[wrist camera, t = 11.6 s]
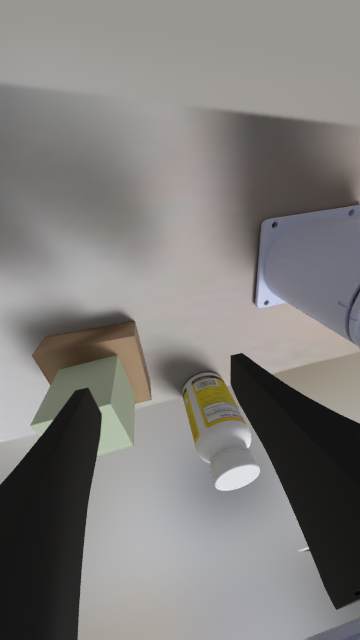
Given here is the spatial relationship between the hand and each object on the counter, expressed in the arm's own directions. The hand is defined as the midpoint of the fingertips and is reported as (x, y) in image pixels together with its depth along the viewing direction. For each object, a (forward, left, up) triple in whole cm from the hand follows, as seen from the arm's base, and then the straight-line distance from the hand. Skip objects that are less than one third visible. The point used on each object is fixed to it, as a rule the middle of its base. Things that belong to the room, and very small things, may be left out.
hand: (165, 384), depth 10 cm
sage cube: (+6, +5, -7) cm, 11 cm away
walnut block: (+6, +5, -10) cm, 13 cm away
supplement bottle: (-4, +12, -10) cm, 16 cm away
